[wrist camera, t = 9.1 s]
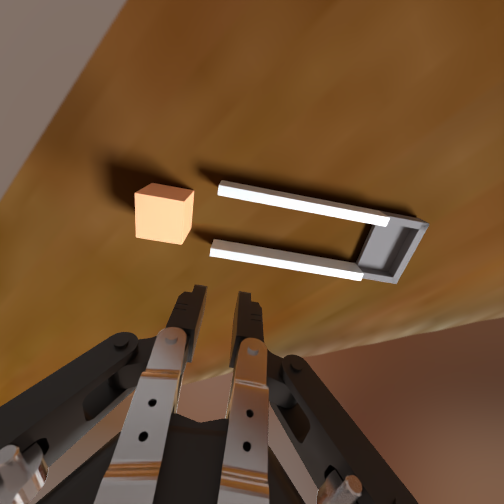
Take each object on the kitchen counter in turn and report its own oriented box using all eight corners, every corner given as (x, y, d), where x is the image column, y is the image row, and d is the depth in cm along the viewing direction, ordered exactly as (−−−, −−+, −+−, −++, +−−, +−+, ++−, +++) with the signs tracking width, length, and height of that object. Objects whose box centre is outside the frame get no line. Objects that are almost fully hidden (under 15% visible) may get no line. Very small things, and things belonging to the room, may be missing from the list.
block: (194, 190, 27) (184, 201, 23) (191, 228, 29) (181, 244, 25) (152, 182, 26) (134, 192, 22) (152, 221, 28) (135, 237, 24)
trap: (419, 218, 28) (429, 223, 27) (389, 275, 32) (396, 283, 30) (378, 210, 28) (386, 215, 26) (352, 269, 31) (358, 277, 30)
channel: (378, 210, 28) (390, 217, 26) (352, 269, 31) (360, 280, 29) (221, 180, 26) (218, 184, 24) (212, 246, 30) (209, 256, 27)
